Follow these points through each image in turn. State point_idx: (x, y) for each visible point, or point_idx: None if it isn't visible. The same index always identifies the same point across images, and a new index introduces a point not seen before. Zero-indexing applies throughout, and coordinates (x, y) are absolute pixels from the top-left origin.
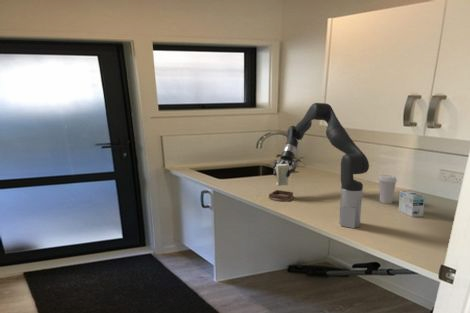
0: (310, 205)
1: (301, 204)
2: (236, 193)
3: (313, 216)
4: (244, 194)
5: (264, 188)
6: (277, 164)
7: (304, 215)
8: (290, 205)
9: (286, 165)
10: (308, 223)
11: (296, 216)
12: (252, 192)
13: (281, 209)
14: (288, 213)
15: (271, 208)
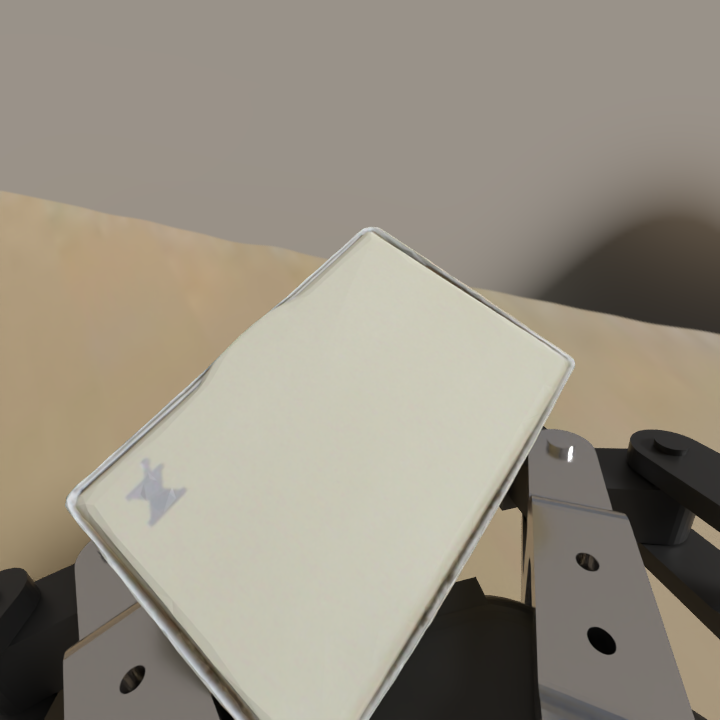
0: (60, 459)
1: (133, 434)
2: (661, 340)
3: (3, 280)
4: (606, 358)
5: (692, 672)
6: (520, 365)
7: (58, 264)
8: (198, 361)
9: (126, 448)
10: (15, 193)
11: (97, 230)
12: (622, 445)
13: (215, 267)
14: (152, 240)
15: (272, 247)
